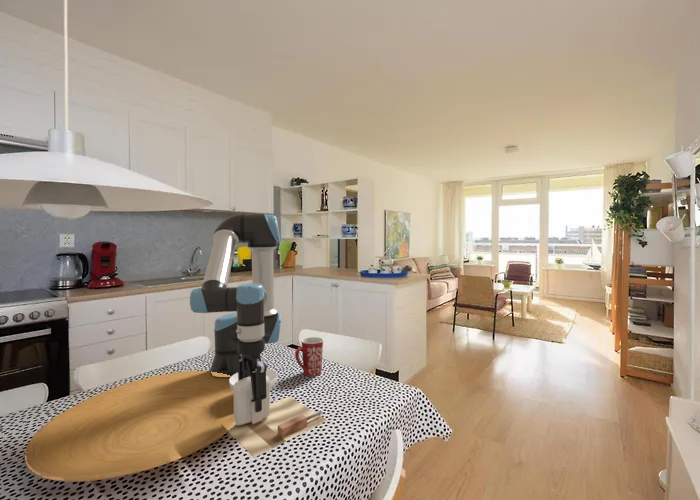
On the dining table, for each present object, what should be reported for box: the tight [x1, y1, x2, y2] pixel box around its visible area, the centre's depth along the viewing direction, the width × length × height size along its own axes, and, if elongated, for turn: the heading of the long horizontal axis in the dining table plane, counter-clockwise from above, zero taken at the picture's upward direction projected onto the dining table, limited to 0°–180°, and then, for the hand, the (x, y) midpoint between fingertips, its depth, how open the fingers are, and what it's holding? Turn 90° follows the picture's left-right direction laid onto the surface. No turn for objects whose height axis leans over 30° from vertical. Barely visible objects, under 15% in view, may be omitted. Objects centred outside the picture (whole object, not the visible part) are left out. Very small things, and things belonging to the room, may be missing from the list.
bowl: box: [228, 368, 278, 392], centre depth 111 cm, size 16×16×7 cm
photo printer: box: [233, 376, 271, 425], centre depth 93 cm, size 10×4×12 cm, turn 124°
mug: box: [294, 336, 325, 377], centre depth 130 cm, size 13×9×14 cm
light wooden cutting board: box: [227, 396, 328, 458], centre depth 93 cm, size 20×23×2 cm
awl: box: [278, 410, 323, 438], centre depth 91 cm, size 14×2×2 cm, turn 134°
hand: (252, 417), depth 93 cm, fingers closed on photo printer, 5 cm apart
